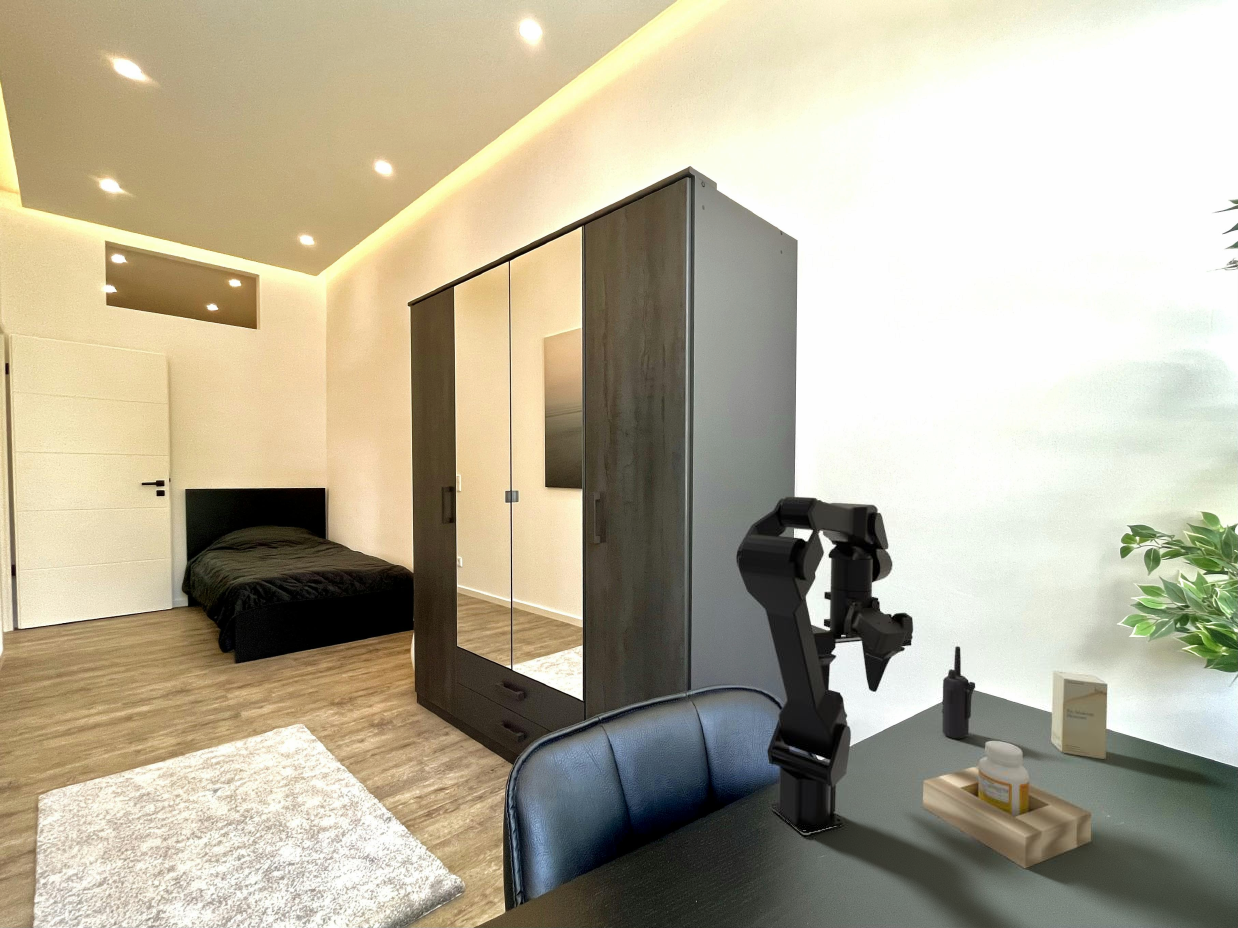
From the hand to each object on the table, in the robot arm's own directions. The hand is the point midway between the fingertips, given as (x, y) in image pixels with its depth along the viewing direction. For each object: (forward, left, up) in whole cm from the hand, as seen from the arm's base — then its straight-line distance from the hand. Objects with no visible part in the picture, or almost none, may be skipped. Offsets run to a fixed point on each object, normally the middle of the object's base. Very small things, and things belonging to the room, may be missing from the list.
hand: (848, 694), depth 86 cm
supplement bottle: (+10, -16, -12) cm, 23 cm away
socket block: (+10, -16, -12) cm, 23 cm away
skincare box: (+43, -8, -12) cm, 45 cm away
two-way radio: (+29, +3, -12) cm, 32 cm away
